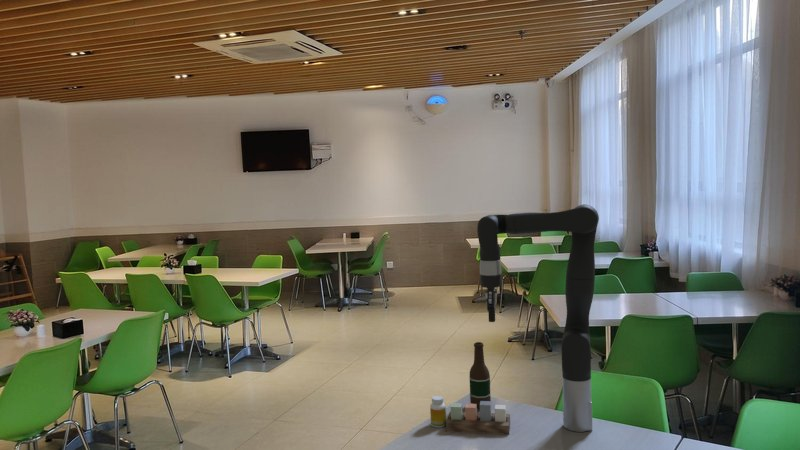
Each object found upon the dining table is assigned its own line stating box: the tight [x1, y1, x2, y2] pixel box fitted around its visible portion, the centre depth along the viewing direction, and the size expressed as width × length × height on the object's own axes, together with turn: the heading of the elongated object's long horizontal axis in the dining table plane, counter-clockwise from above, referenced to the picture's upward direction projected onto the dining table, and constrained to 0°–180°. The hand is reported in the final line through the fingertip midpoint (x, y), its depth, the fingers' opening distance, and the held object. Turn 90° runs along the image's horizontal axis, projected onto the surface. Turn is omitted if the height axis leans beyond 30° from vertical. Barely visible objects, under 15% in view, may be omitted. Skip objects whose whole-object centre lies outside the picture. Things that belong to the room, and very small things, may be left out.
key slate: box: [479, 401, 492, 421], centre depth 209 cm, size 4×4×6 cm
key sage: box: [450, 402, 464, 420], centre depth 212 cm, size 4×4×6 cm
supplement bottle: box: [429, 395, 447, 428], centre depth 213 cm, size 5×5×10 cm
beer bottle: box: [469, 341, 492, 410], centre depth 228 cm, size 8×8×24 cm
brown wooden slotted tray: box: [445, 410, 511, 435], centre depth 210 cm, size 21×10×3 cm, turn 78°
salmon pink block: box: [464, 403, 478, 421], centre depth 211 cm, size 4×4×6 cm
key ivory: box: [494, 404, 507, 422], centre depth 209 cm, size 4×4×6 cm
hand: (492, 321), depth 214 cm, fingers closed
